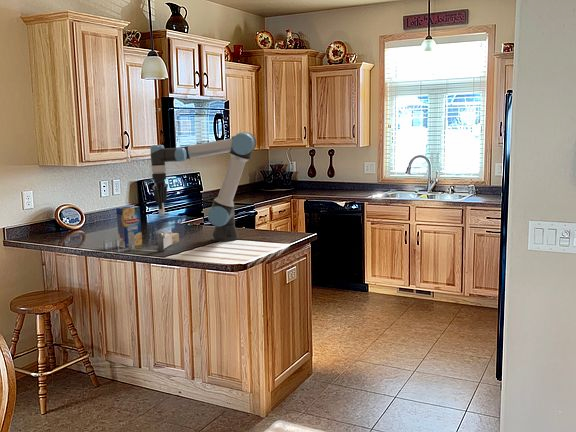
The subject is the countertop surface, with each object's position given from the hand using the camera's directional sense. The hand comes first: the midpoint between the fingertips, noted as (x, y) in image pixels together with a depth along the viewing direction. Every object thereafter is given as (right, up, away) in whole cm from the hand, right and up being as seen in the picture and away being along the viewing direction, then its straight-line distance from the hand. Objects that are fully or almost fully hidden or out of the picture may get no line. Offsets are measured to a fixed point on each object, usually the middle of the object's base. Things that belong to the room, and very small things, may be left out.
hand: (162, 214), depth 330 cm
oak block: (+3, -16, +9) cm, 19 cm away
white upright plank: (+4, -18, -8) cm, 20 cm away
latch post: (-14, -20, -10) cm, 26 cm away
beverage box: (-18, -18, +2) cm, 26 cm away
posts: (-4, -20, -14) cm, 25 cm away
